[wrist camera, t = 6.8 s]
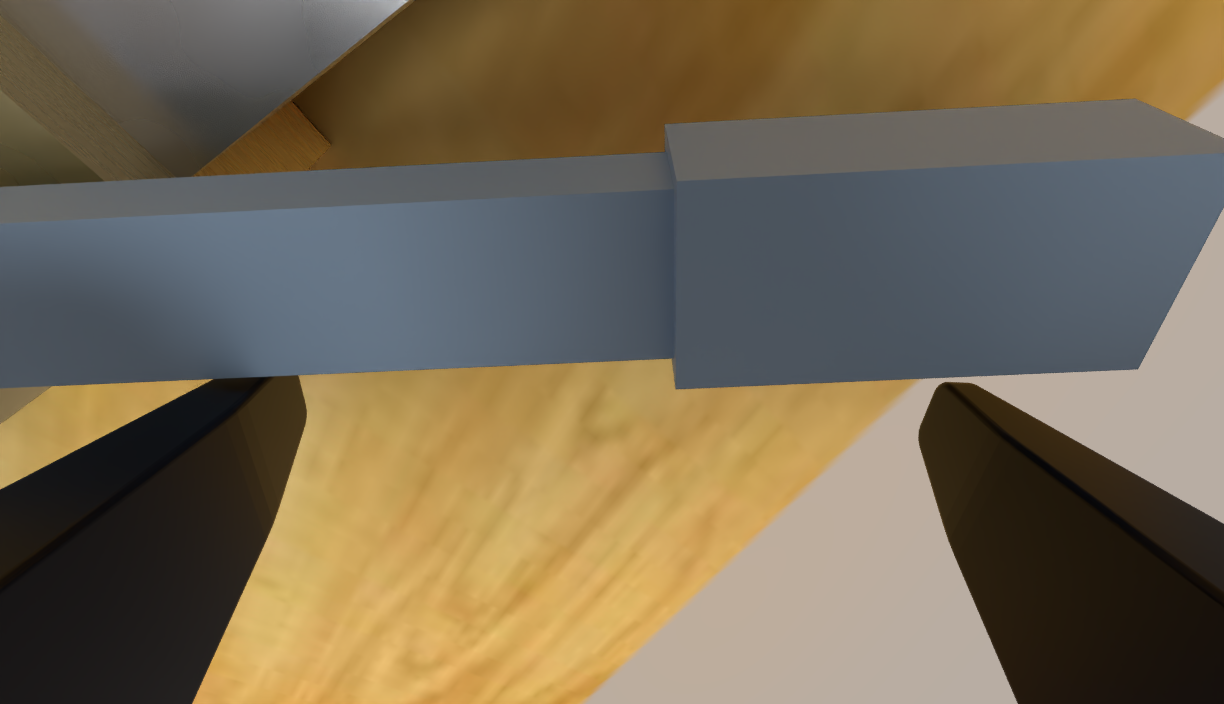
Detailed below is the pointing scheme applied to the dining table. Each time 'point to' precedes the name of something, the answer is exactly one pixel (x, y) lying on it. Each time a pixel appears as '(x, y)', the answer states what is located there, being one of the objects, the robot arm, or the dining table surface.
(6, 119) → the pipe valve
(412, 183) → the lever
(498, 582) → the dining table surface
